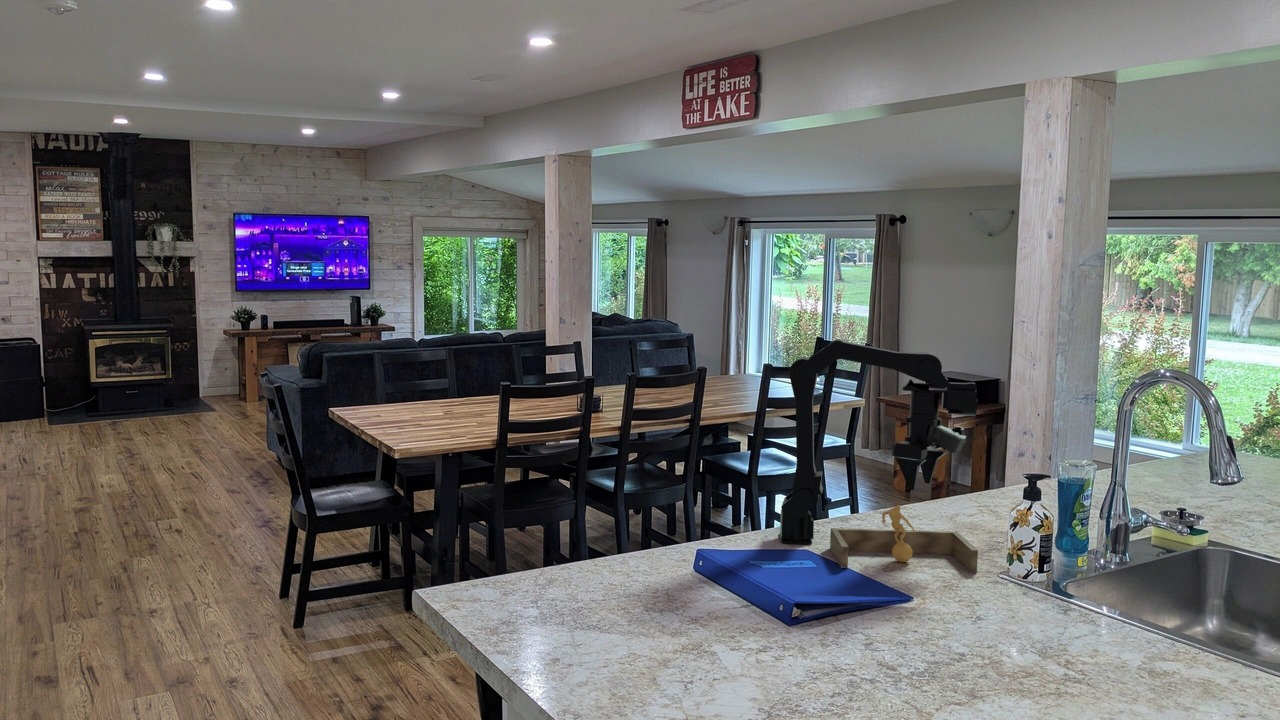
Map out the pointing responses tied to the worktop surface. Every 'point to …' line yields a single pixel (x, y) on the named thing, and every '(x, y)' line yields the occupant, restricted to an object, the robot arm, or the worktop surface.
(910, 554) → the figurine
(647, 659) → the worktop surface
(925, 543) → the three-sided wooden wall
